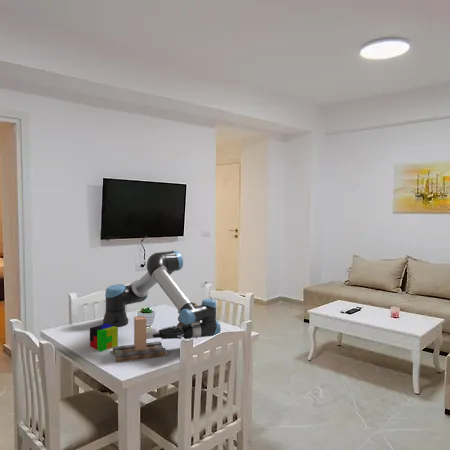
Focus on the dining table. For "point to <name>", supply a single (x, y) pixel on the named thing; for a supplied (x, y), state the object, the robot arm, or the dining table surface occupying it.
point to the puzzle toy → (103, 337)
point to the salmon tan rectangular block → (139, 333)
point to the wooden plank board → (139, 352)
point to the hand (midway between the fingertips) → (146, 335)
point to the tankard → (181, 322)
